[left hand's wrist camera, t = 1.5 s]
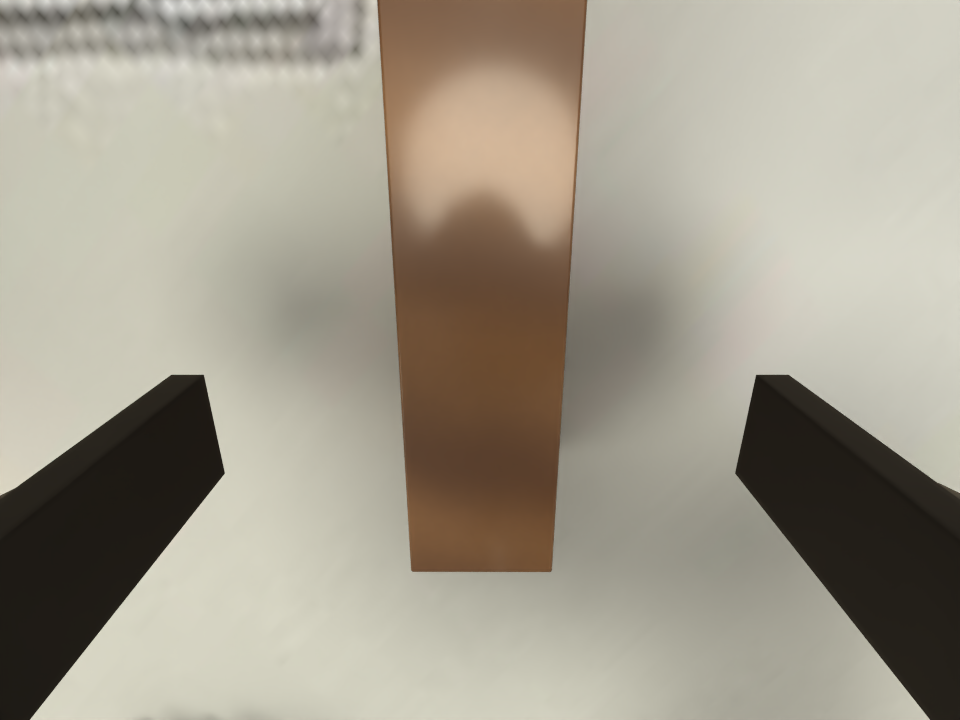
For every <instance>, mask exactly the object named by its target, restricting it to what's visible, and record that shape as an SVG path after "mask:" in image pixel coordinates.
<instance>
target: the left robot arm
mask: <svg viewBox="0 0 960 720" xmlns="http://www.w3.org/2000/svg"><path fill="white" fill-rule="evenodd" d="M224 474H225V472H224V468H223V463H222V458H221V454H220V449H219V444H218V440H217V435H216V430H215V425H214V421H213V416H212V411H211V407H210V402H209V397H208V393H207V388H206V383H205V379H204V375H171V376H169V377H168V378H167V379H165V380H164V381H162V382H161V383H160V384H158V385H157V386H156V387H154V388H153V389H151V390H150V391H149V392H147V393H146V394H145V395H143V396H142V397H140V398H139V399H138V400H136V401H135V402H134V403H132V404H131V405H129V406H128V407H127V408H125V409H124V410H122V411H121V412H120V413H118V414H117V415H116V416H114V417H113V418H111V419H110V420H109V421H107V422H106V423H105V424H103V425H102V426H100V427H99V428H98V429H96V430H95V431H94V432H92V433H91V434H89V435H88V436H87V437H85V438H84V439H83V440H81V441H80V442H78V443H77V444H76V445H74V446H73V447H72V448H70V449H69V450H67V451H66V452H65V453H63V454H62V455H61V456H59V457H58V458H56V459H55V460H54V461H52V462H51V463H50V464H48V465H47V466H45V467H44V468H43V469H41V470H40V471H38V472H37V473H36V474H34V475H33V476H32V477H30V478H29V479H27V480H26V481H25V482H23V483H22V484H21V485H19V486H18V487H16V488H15V489H13V490H11V491H9V492H7V493H5V494H3V495H1V496H0V720H30V719H31V718H32V716H33V715H34V714H35V712H36V711H37V710H38V709H39V707H40V706H41V705H42V704H43V702H44V701H45V700H46V699H47V697H48V696H49V695H50V693H51V692H52V691H53V690H54V688H55V687H56V686H57V685H58V683H59V682H60V681H61V680H62V678H63V677H64V676H65V675H66V673H67V672H68V671H69V669H70V668H71V667H72V666H73V664H74V663H75V662H76V661H77V659H78V658H79V657H80V656H81V654H82V653H83V652H84V651H85V649H86V648H87V647H88V645H89V644H90V643H91V642H92V640H93V639H94V638H95V637H96V635H97V634H98V633H99V632H100V630H101V629H102V628H103V627H104V625H105V624H106V623H107V621H108V620H109V619H110V618H111V616H112V615H113V614H114V613H115V611H116V610H117V609H118V608H119V606H120V605H121V604H122V603H123V601H124V600H125V599H126V597H127V596H128V595H129V594H130V592H131V591H132V590H133V589H134V587H135V586H136V585H137V584H138V582H139V581H140V580H141V579H142V577H143V576H144V575H145V573H146V572H147V571H148V570H149V568H150V567H151V566H152V565H153V563H154V562H155V561H156V560H157V558H158V557H159V556H160V555H161V553H162V552H163V551H164V549H165V548H166V547H167V546H168V544H169V543H170V542H171V541H172V539H173V538H174V537H175V536H176V534H177V533H178V532H179V531H180V529H181V528H182V527H183V525H184V524H185V523H186V522H187V520H188V519H189V518H190V517H191V515H192V514H193V513H194V512H195V510H196V509H197V508H198V507H199V505H200V504H201V503H202V501H203V500H204V499H205V498H206V496H207V495H208V494H209V493H210V491H211V490H212V489H213V488H214V486H215V485H216V484H217V483H218V481H219V480H220V479H221V477H222V476H223V475H224ZM735 474H736V475H737V476H738V477H739V479H740V480H741V481H742V483H743V484H744V485H745V486H746V488H747V489H748V490H749V491H750V493H751V494H752V495H753V496H754V498H755V499H756V500H757V501H758V503H759V504H760V505H761V507H762V508H763V509H764V510H765V512H766V513H767V514H768V515H769V517H770V518H771V519H772V520H773V522H774V523H775V524H776V525H777V527H778V528H779V529H780V531H781V532H782V533H783V534H784V536H785V537H786V538H787V539H788V541H789V542H790V543H791V544H792V546H793V547H794V548H795V549H796V551H797V552H798V553H799V555H800V556H801V557H802V558H803V560H804V561H805V562H806V563H807V565H808V566H809V567H810V568H811V570H812V571H813V572H814V573H815V575H816V576H817V577H818V579H819V580H820V581H821V582H822V584H823V585H824V586H825V587H826V589H827V590H828V591H829V592H830V594H831V595H832V596H833V597H834V599H835V600H836V601H837V603H838V604H839V605H840V606H841V608H842V609H843V610H844V611H845V613H846V614H847V615H848V616H849V618H850V619H851V620H852V621H853V623H854V624H855V625H856V627H857V628H858V629H859V630H860V632H861V633H862V634H863V635H864V637H865V638H866V639H867V640H868V642H869V643H870V644H871V645H872V647H873V648H874V649H875V651H876V652H877V653H878V654H879V656H880V657H881V658H882V659H883V661H884V662H885V663H886V664H887V666H888V667H889V668H890V669H891V671H892V672H893V673H894V675H895V676H896V677H897V678H898V680H899V681H900V682H901V683H902V685H903V686H904V687H905V688H906V690H907V691H908V692H909V693H910V695H911V696H912V697H913V699H914V700H915V701H916V702H917V704H918V705H919V706H920V707H921V709H922V710H923V711H924V712H925V714H926V715H927V716H928V718H929V719H930V720H960V493H958V492H956V491H954V490H952V489H950V488H948V487H946V486H944V485H942V484H939V483H937V482H935V481H934V480H933V479H931V478H930V477H928V476H927V475H926V474H924V473H923V472H922V471H920V470H919V469H917V468H916V467H915V466H913V465H912V464H910V463H909V462H908V461H906V460H905V459H904V458H902V457H901V456H899V455H898V454H897V453H895V452H894V451H893V450H891V449H890V448H888V447H887V446H886V445H884V444H883V443H882V442H880V441H879V440H877V439H876V438H875V437H873V436H872V435H871V434H869V433H868V432H866V431H865V430H864V429H862V428H861V427H860V426H858V425H857V424H855V423H854V422H853V421H851V420H850V419H849V418H847V417H846V416H844V415H843V414H842V413H840V412H839V411H838V410H836V409H835V408H833V407H832V406H831V405H829V404H828V403H826V402H825V401H824V400H822V399H821V398H820V397H818V396H817V395H815V394H814V393H813V392H811V391H810V390H809V389H807V388H806V387H804V386H803V385H802V384H800V383H799V382H798V381H796V380H795V379H793V378H792V377H791V376H789V375H756V379H755V383H754V388H753V393H752V397H751V402H750V407H749V411H748V416H747V421H746V425H745V430H744V435H743V440H742V444H741V449H740V454H739V458H738V463H737V468H736V472H735Z"/></svg>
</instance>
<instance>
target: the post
mask: <svg viewBox="0 0 960 720" xmlns="http://www.w3.org/2000/svg"><path fill="white" fill-rule="evenodd" d="M377 3H378V19H379V36H380V53H381V70H382V87H383V103H384V120H385V137H386V154H387V171H388V188H389V204H390V221H391V238H392V255H393V272H394V288H395V305H396V322H397V339H398V356H399V373H400V389H401V406H402V423H403V440H404V457H405V473H406V490H407V507H408V524H409V541H410V558H411V570H412V571H413V572H551V570H552V558H553V542H554V526H555V510H556V494H557V478H558V462H559V446H560V430H561V414H562V397H563V381H564V365H565V349H566V333H567V317H568V301H569V285H570V269H571V253H572V236H573V220H574V204H575V188H576V172H577V156H578V140H579V124H580V108H581V92H582V75H583V59H584V43H585V27H586V11H587V0H377Z"/></svg>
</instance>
